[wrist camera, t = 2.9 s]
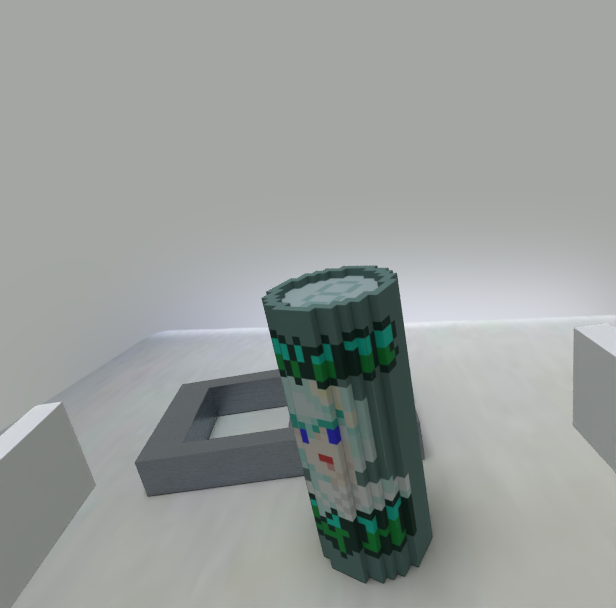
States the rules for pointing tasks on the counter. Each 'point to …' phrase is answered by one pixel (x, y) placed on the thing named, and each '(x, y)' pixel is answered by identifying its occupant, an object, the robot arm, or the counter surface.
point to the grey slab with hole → (220, 451)
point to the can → (353, 416)
